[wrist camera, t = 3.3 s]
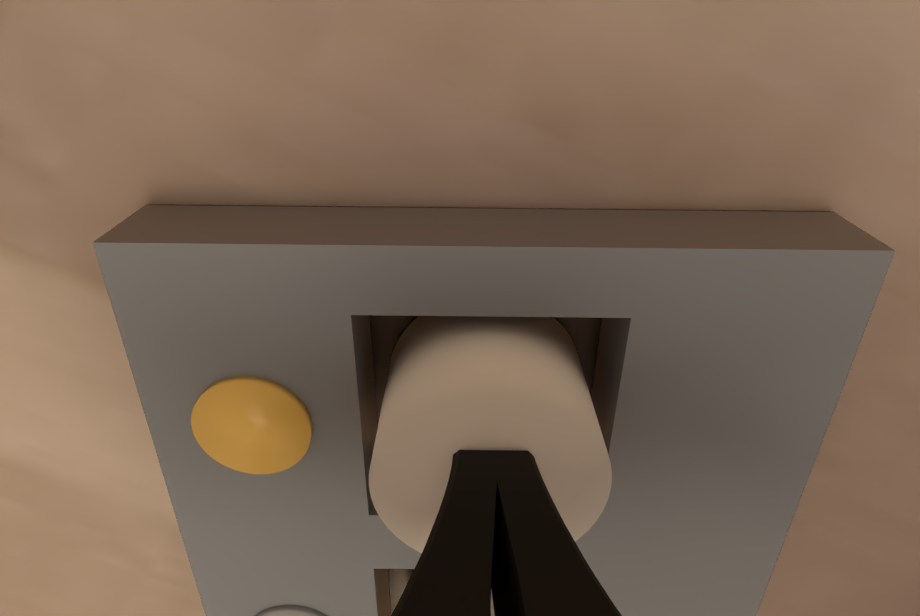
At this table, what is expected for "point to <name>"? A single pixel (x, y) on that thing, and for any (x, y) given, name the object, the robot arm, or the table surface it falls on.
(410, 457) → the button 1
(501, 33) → the table surface
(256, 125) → the table surface
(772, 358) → the button board
